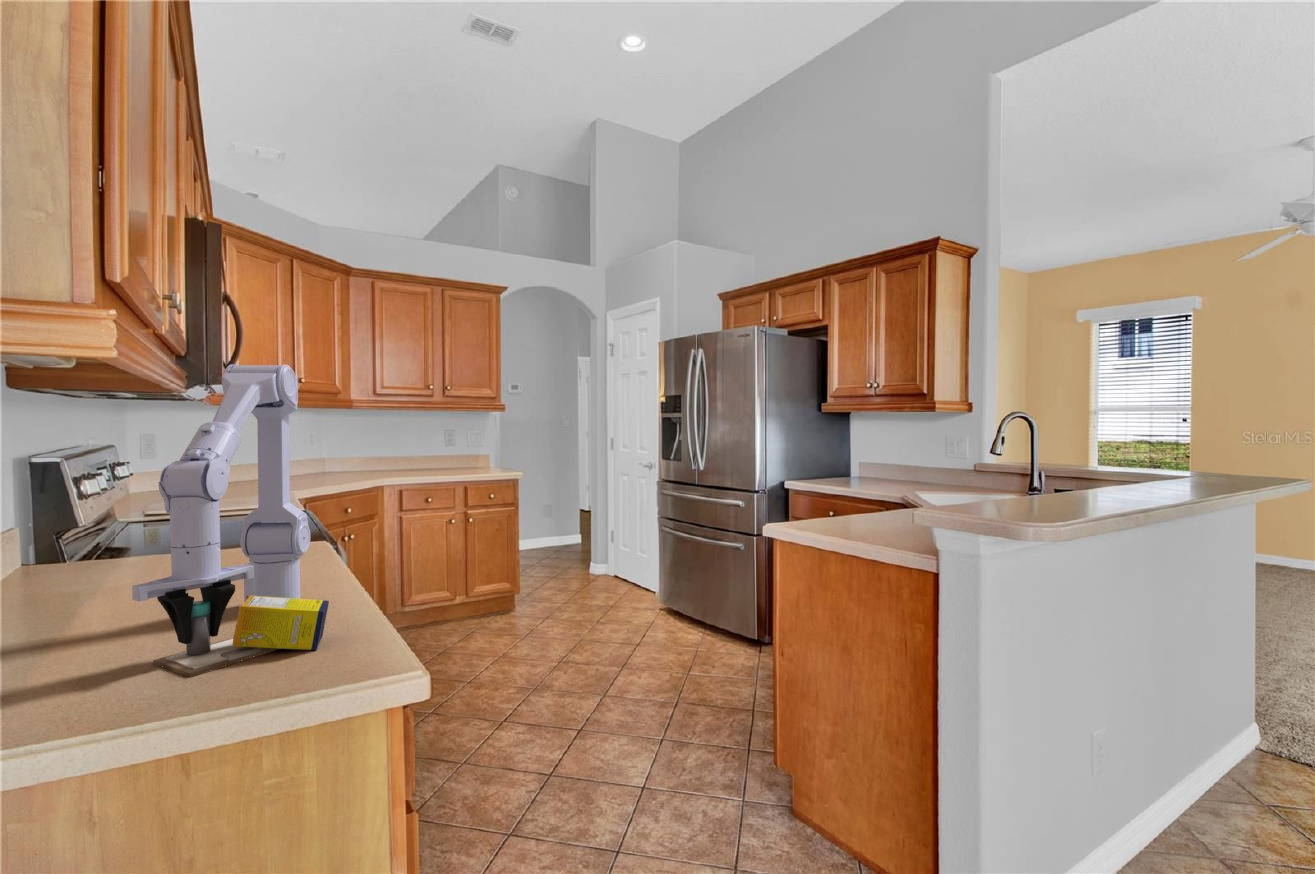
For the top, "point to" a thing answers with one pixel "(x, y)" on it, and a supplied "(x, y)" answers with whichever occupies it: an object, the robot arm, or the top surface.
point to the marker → (200, 629)
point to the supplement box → (280, 623)
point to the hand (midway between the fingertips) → (198, 638)
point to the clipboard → (209, 658)
